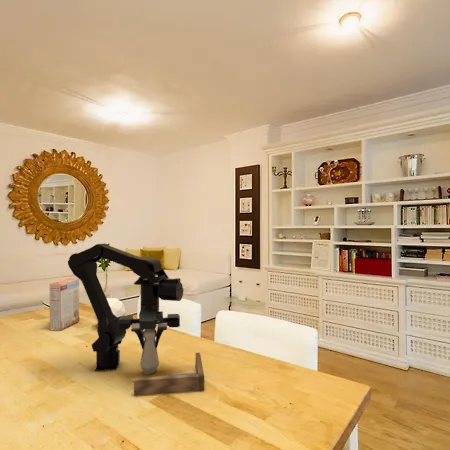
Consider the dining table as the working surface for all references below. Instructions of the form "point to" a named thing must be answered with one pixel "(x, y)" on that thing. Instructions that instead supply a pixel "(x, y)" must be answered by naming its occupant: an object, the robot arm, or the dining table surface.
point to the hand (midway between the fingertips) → (149, 348)
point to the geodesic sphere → (115, 307)
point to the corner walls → (171, 382)
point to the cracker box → (64, 303)
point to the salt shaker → (149, 352)
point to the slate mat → (181, 374)
